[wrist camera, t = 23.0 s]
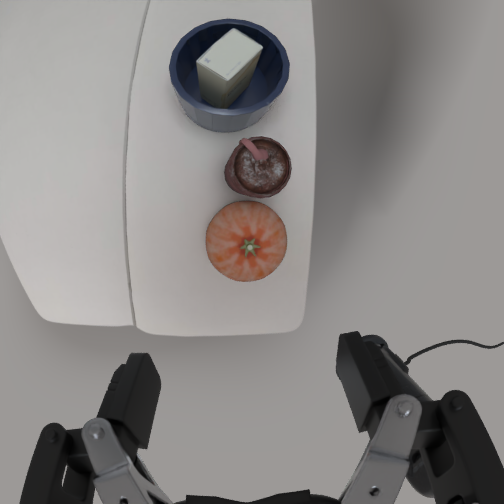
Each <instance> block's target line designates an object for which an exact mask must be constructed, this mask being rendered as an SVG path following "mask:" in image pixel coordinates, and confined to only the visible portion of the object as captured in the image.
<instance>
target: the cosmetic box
mask: <svg viewBox="0 0 504 504" xmlns="http://www.w3.org/2000/svg"><path fill="white" fill-rule="evenodd" d="M262 49H263V47H262V46H261V45H260V44H258V43H257V42H255V41H254V40H252V39H251V38H249V37H248V36H246V35H245V34H243V33H241V32H240V31H238V30H236V29H234V28H233V29H231V30H230V31H229V32H228V33H226V34H225V35H224V36H223V37H221V38H220V39H219V40H218V41H217V42H216V43H214V44H213V45H212V46H211V47H210V48H209V49H208V50H207V51H206V52H205V53H204V54H203V55H202V56H201V57H200V58H199V59H198V60H197V61H196V63H197V71H198V79H199V87H200V96H201V98H202V99H204V100H205V101H207V102H208V103H209V104H211V105H212V106H214V107H215V108H223V109H227V108H228V107H229V106H230V105H231V104H232V103H233V102H234V101H235V100H236V99H237V98H238V96H239V95H240V94H241V93H242V92H243V91H244V90H245V89H246V88H247V87H248V86H249V84H250V81H251V79H252V76H253V73H254V70H255V68H256V65H257V62H258V59H259V57H260V54H261V51H262Z"/></svg>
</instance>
